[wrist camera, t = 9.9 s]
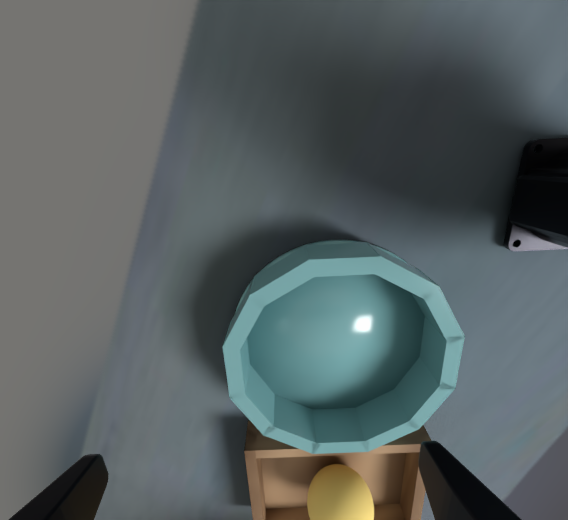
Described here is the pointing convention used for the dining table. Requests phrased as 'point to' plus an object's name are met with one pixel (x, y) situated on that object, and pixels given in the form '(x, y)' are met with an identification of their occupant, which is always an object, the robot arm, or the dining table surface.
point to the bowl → (341, 348)
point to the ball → (339, 495)
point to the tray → (304, 466)
